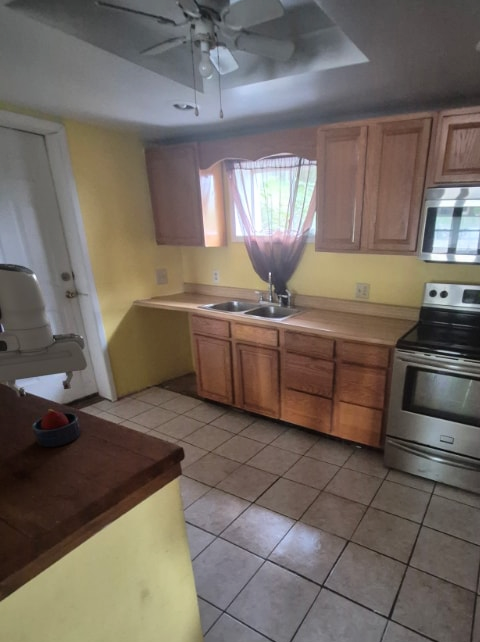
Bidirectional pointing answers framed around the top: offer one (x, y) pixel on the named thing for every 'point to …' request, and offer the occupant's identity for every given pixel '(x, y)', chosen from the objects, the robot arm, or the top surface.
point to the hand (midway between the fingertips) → (45, 391)
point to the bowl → (57, 432)
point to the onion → (53, 420)
